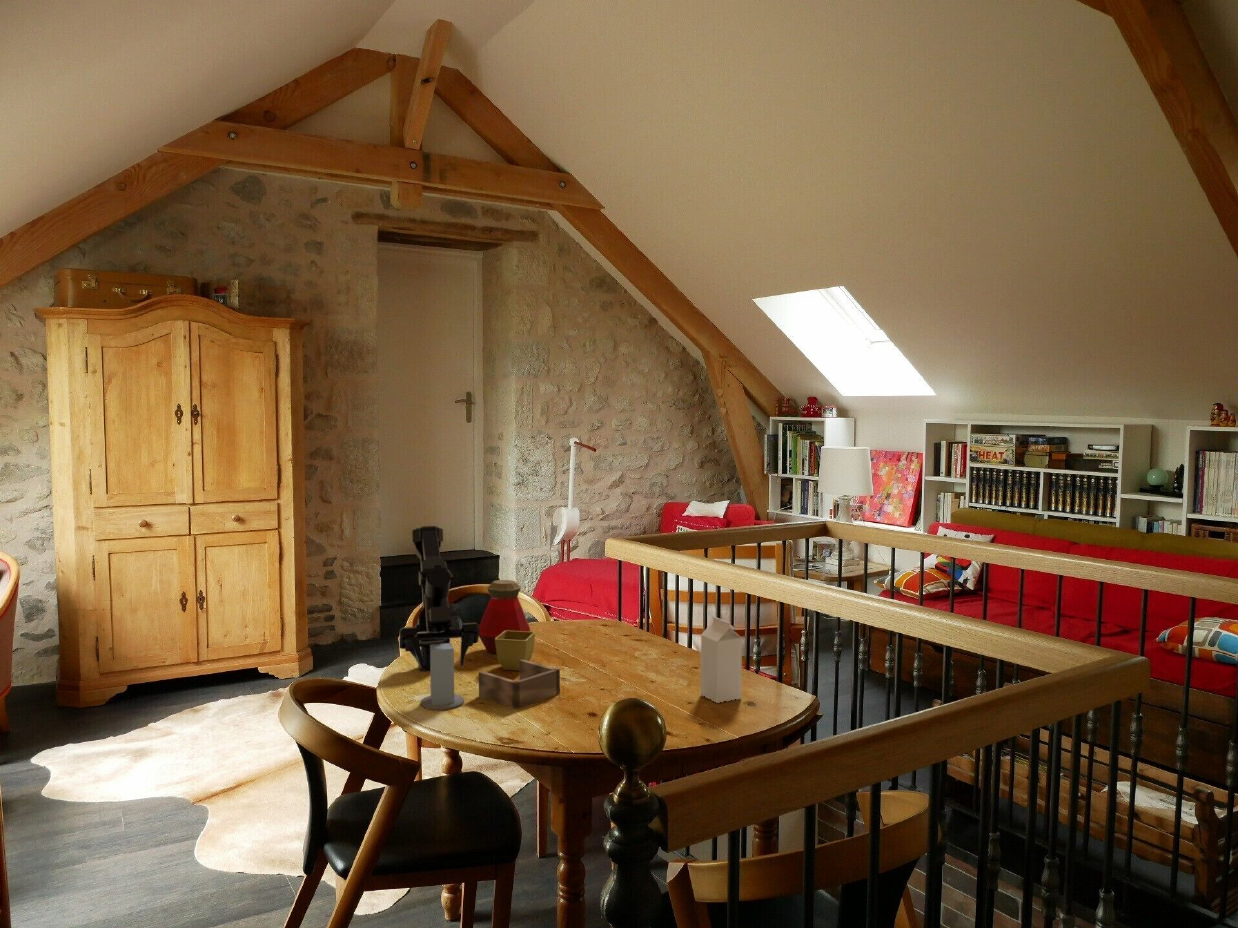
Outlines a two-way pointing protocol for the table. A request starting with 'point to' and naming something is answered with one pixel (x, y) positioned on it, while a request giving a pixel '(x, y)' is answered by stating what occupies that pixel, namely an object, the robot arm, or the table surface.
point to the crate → (521, 685)
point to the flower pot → (514, 648)
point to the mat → (428, 704)
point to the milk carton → (721, 662)
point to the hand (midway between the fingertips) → (442, 666)
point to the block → (442, 673)
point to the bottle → (502, 613)
